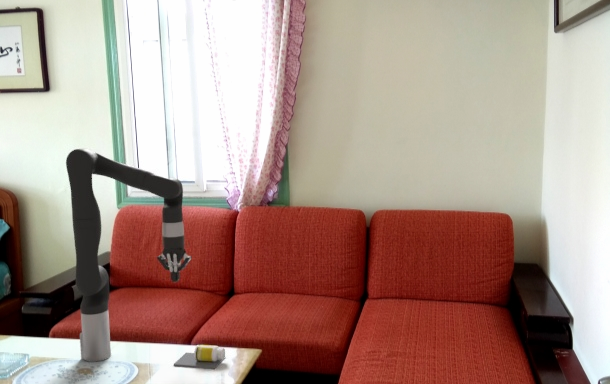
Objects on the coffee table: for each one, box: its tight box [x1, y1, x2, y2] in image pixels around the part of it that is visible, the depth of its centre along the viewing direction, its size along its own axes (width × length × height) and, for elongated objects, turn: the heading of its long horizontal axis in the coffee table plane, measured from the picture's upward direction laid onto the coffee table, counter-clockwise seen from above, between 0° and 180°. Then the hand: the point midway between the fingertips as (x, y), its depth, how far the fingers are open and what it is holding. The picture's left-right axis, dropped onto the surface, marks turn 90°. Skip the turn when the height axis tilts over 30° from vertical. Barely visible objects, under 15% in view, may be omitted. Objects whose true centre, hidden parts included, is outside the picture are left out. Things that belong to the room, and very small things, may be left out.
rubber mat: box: [173, 352, 223, 370], centre depth 190 cm, size 15×10×1 cm, turn 77°
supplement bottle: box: [193, 344, 226, 362], centre depth 188 cm, size 5×5×10 cm
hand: (175, 281), depth 194 cm, fingers closed
